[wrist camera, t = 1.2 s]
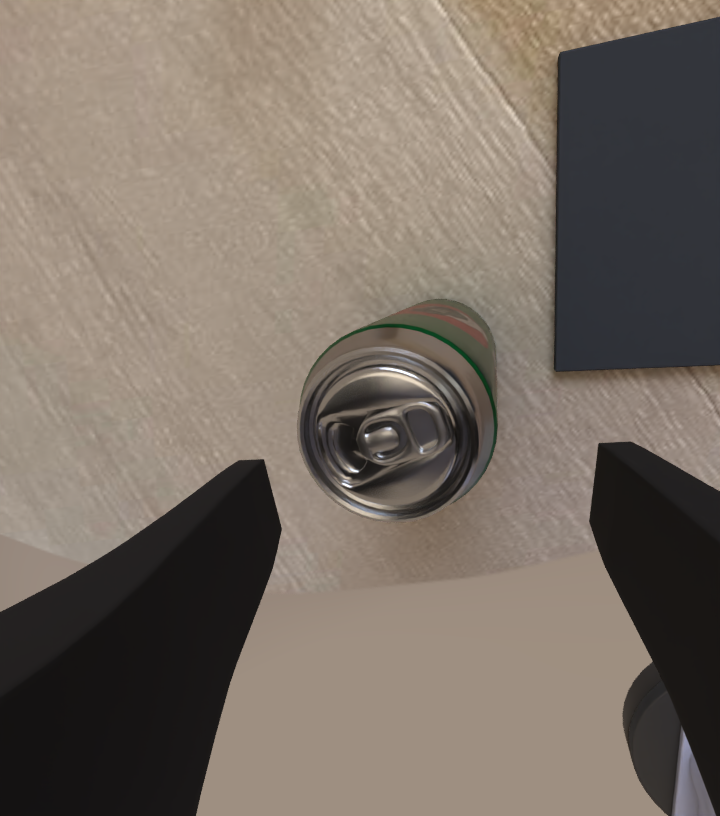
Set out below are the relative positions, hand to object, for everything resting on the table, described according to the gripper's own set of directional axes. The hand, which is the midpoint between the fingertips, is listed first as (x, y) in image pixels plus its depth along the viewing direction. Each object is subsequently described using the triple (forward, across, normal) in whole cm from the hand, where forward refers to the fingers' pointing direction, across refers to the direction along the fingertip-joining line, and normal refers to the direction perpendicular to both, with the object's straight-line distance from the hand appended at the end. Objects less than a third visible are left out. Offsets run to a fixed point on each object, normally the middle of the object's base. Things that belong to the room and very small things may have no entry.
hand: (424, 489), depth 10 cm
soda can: (+13, -1, +2) cm, 13 cm away
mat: (+12, -11, -4) cm, 16 cm away
